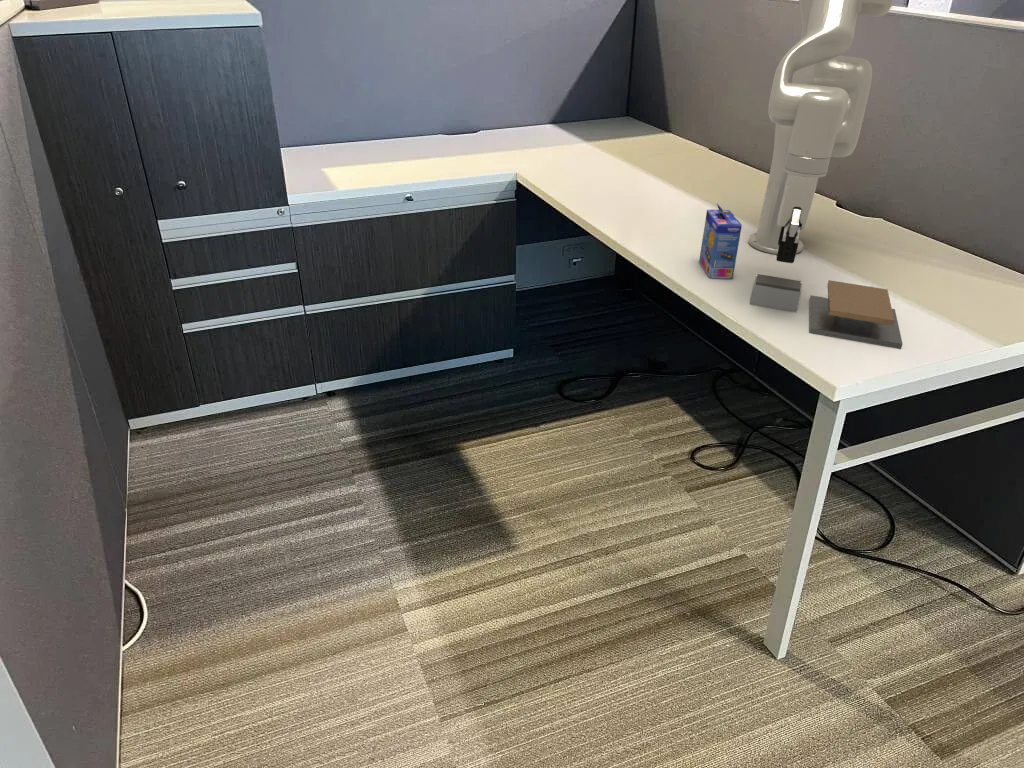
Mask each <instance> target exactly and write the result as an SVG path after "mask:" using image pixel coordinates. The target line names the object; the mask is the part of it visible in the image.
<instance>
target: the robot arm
mask: <svg viewBox="0 0 1024 768" xmlns="http://www.w3.org/2000/svg"><path fill="white" fill-rule="evenodd" d="M894 1H895V0H798V3H799V4H798V6H799V11H800V18H801V19H800V20H801V35H800V36H801V37H800V40H799V41H797V43H796V44H794V45H793V46H791V48H790V49H789V50H788V51H787V52H786V53H785V54H784V56H783V57H782V58H781V60H780V61H779V63H778V65H777V67H776V70H775V73H774V76H773V80H772V84H771V90H770V95H769V100H768V109H767V114H768V118H769V120H770V121H771V122H772V123H773V124H775V130H774V144H773V145H774V146H773V152H772V153H773V154H772V158H771V159H772V160H771V165H770V170H769V175H768V179H767V185H766V188H765V189H766V190H765V193H764V199H763V202H762V206H761V207H762V208H761V211H760V217H759V220H758V227H757V230H756V232H754V233H752V234H750V235H749V236H748V240H747V241H748V243H749V245H750V246H751V247H752V248H754V249H757V250H759V251H761V252H764V253H769V254H775V255H776V258H775V260H776V261H777V262H782V263H787V264H794V263H795V259H796V256H797V255H796V254H799V253H801V252H802V251H803V249H804V242H802V241H801V240H800V239H799V237H800V232H801V231H803V230H804V229H805V226H806V224H807V220H808V218H809V215H810V211H811V208H812V205H813V201H814V198H815V193H816V190H817V189H816V188H817V186H818V183H819V178H824V177H826V176H827V173H828V169H829V165H830V161H831V158H832V157H833V158H845V157H849V156H850V155H852V154H853V153H854V151H855V149H856V147H857V144H858V141H859V140H860V139H859V138H860V134H861V129H862V125H863V120H864V117H865V112H866V107H867V104H868V101H869V100H868V99H869V95H870V94H869V93H870V90H871V85H872V81H873V67H872V64H871V62H870V61H868V59H865V58H861V57H855V56H845V55H843V54H844V53H846V52H847V51H848V50H849V49H850V48H851V45H852V44H853V42H854V38H855V31H856V24H857V18H858V16H866V17H867V16H869V17H882V16H885V15H886V14H887V13H889V11H890V10H891V9H892V6H893V4H894ZM791 76H792V80H791V82H789V79H790V77H791Z"/></svg>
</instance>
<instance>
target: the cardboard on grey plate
mask: <svg viewBox="0 0 1024 768" xmlns="http://www.w3.org/2000/svg"><path fill="white" fill-rule="evenodd" d="M826 286H827V287H826V288H827V297H824V296H823V297H822V296H817V295H812V294H811V295H810V297H809V302H808V303H809V305H808V307H809V308H808V309H809V313H808V315H809V317H808V318H809V320H808V321H809V323H808V324H809V326H808V331H809V334H815V335H821V336H824V337H831V338H837V339H844V340H849V341H854V342H861V343H866V344H872V345H876V346H883V347H888V348H894V349H899V350H901V349H902V347H903V339H902V334H901V331H900V326H899V321H898V318H897V317H898V316H897V313H896V309H895V308H892V303H891V299H890V295H889V294H890V293H889V290H888V288H881V287H874V286H868V285H864V284H863V285H862V284H856V283H850V282H849V283H848V282H843V281H836V280H831V279H828V281H827V285H826Z"/></svg>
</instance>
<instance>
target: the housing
mask: <svg viewBox="0 0 1024 768" xmlns="http://www.w3.org/2000/svg"><path fill="white" fill-rule="evenodd" d="M802 286H803V285H802V280H799V279H798V280H796V279H790V278H785V277H779V276H772V275H768V274H761V273H757V275H755V277H754V281H753V285H752V290H751V294H750V298H749V299H750V300H749V305H751V306H755V305H756V306H757V307H762V308H766V309H767V308H768V309H774V310H778V309H779V311H784V312H785V311H786V312H791V313H797V311H798V307H799V303H800V299H801V295H802Z"/></svg>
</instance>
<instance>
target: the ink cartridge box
mask: <svg viewBox="0 0 1024 768" xmlns="http://www.w3.org/2000/svg"><path fill="white" fill-rule="evenodd" d="M716 205H717V208H718V209H706V215H705V222H704V227H703V234H702V241H701V247H700V253H699V258H698V262H699V264H700V265H701V267H702V269H703V271H704V272H705V274H706V276H707V278H709V279H728V280H731V279H733V278H734V274H735V268H736V263H737V262H736V261H737V256H738V251H739V245H740V238H741V234H742V233H741V232H742V226H743V225H742V224H741V222H740V221H739V219H737V218H736V217H735V214H733V212H732V211H731V210H729V209H723V208H722V206H720V204H718V203H716Z"/></svg>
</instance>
